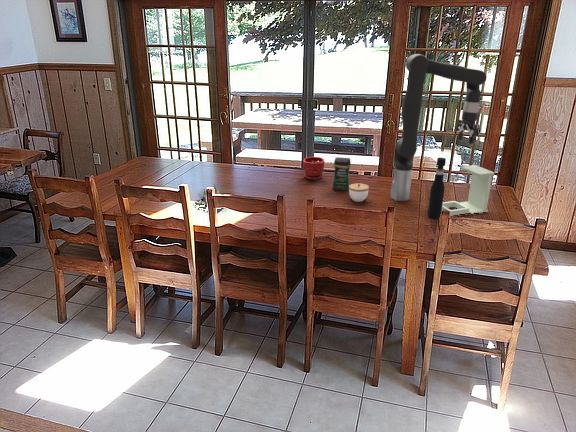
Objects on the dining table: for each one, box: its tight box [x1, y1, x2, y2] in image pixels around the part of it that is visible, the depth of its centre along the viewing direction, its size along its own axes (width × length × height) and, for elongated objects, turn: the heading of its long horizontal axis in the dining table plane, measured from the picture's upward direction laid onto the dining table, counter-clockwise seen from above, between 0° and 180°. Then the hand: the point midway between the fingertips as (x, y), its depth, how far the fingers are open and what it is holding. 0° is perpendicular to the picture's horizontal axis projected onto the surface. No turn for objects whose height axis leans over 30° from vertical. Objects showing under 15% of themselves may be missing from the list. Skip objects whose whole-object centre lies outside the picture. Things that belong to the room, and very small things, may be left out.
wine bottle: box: [426, 157, 447, 220], centre depth 220 cm, size 6×6×30 cm
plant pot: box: [302, 156, 325, 181], centre depth 282 cm, size 13×13×12 cm
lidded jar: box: [348, 182, 370, 203], centre depth 247 cm, size 11×11×9 cm
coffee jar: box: [332, 156, 352, 191], centre depth 262 cm, size 10×8×19 cm
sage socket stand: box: [441, 164, 495, 217], centre depth 230 cm, size 22×14×21 cm, turn 109°
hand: (465, 141), depth 238 cm, fingers open, 8 cm apart
